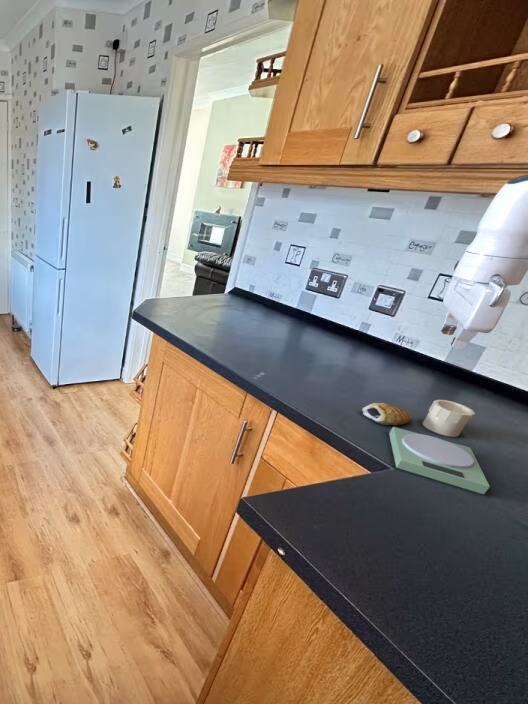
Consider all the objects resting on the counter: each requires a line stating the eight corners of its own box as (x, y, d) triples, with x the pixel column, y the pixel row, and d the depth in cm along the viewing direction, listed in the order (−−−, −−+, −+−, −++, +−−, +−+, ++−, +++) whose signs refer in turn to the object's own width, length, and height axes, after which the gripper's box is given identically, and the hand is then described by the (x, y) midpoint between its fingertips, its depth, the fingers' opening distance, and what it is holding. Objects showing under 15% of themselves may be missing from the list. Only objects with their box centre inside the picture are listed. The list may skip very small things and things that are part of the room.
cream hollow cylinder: (456, 427, 98) (470, 405, 96) (463, 440, 93) (478, 418, 91) (419, 417, 102) (431, 396, 99) (424, 430, 97) (437, 408, 94)
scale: (465, 454, 89) (471, 445, 87) (483, 494, 78) (492, 484, 76) (388, 433, 95) (394, 424, 94) (396, 467, 84) (402, 457, 83)
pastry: (392, 411, 104) (399, 398, 102) (416, 426, 98) (425, 413, 96) (357, 412, 103) (364, 399, 101) (380, 427, 97) (388, 414, 95)
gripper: (535, 284, 67) (488, 361, 73) (496, 263, 82) (460, 329, 88) (481, 278, 70) (440, 353, 76) (454, 259, 85) (422, 323, 91)
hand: (451, 340), depth 82 cm, fingers open, 8 cm apart
